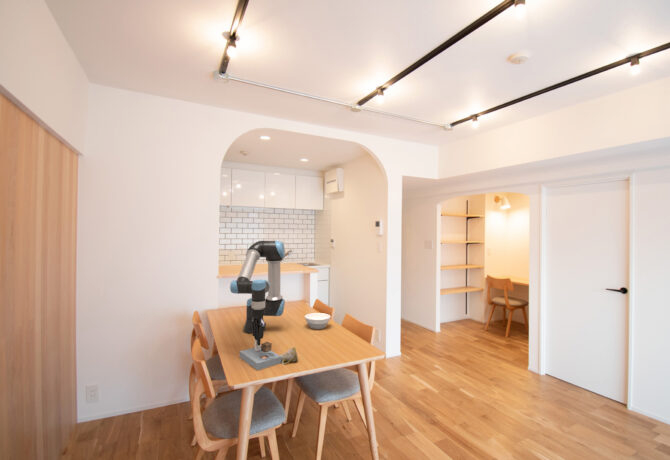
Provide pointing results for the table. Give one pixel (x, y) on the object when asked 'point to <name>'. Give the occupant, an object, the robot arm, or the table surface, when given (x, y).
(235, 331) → the table surface
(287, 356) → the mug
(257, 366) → the grey flat block
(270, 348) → the walnut cube
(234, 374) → the table surface
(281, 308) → the robot arm
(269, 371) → the table surface
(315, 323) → the bowl
